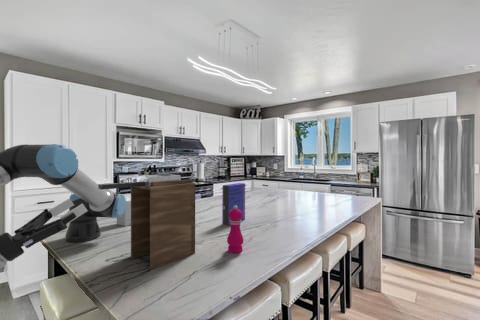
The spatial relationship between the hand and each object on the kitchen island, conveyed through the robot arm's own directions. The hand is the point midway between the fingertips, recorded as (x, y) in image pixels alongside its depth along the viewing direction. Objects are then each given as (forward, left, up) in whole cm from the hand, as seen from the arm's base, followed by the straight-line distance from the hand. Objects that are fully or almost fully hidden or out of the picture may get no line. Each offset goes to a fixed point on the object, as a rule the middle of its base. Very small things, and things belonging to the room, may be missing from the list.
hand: (78, 204), depth 81 cm
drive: (0, +21, +4) cm, 22 cm away
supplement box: (-58, +41, -26) cm, 75 cm away
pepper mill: (+19, +55, -26) cm, 64 cm away
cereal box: (-14, +89, -26) cm, 94 cm away
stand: (0, +31, -26) cm, 40 cm away
